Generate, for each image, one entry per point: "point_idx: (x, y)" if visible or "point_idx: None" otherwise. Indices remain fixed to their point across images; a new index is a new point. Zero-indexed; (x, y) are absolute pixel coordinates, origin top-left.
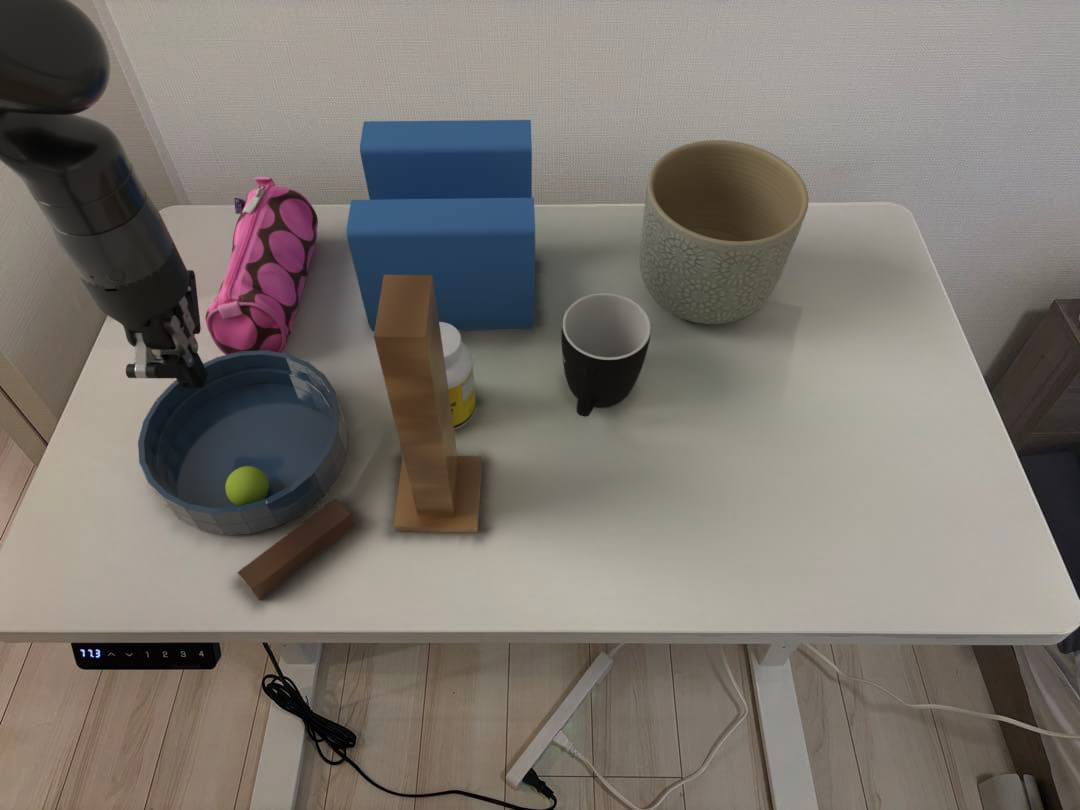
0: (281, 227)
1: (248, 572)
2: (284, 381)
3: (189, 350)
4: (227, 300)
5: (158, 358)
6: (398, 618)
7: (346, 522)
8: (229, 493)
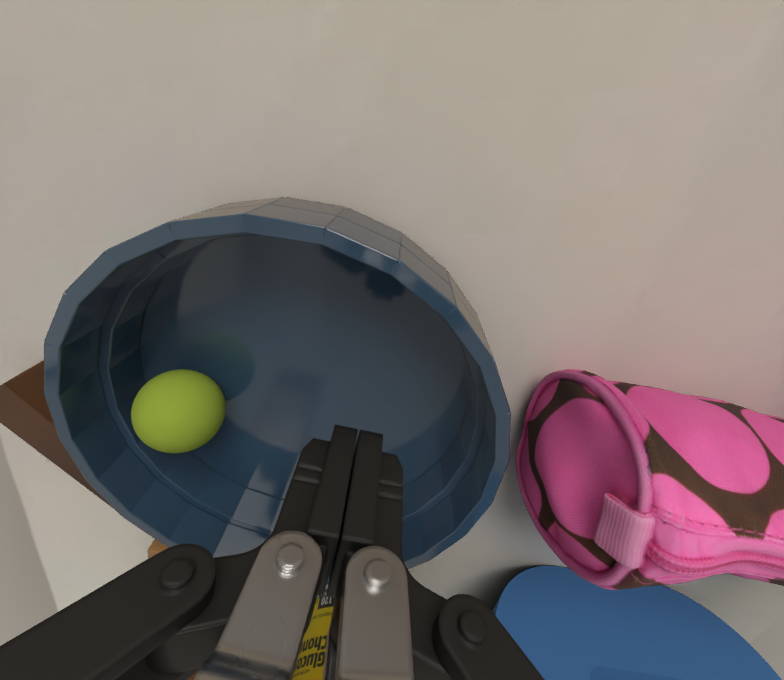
0: None
1: (6, 401)
2: (448, 456)
3: (328, 634)
4: (656, 552)
5: (230, 619)
6: (36, 521)
7: None
8: (139, 398)
